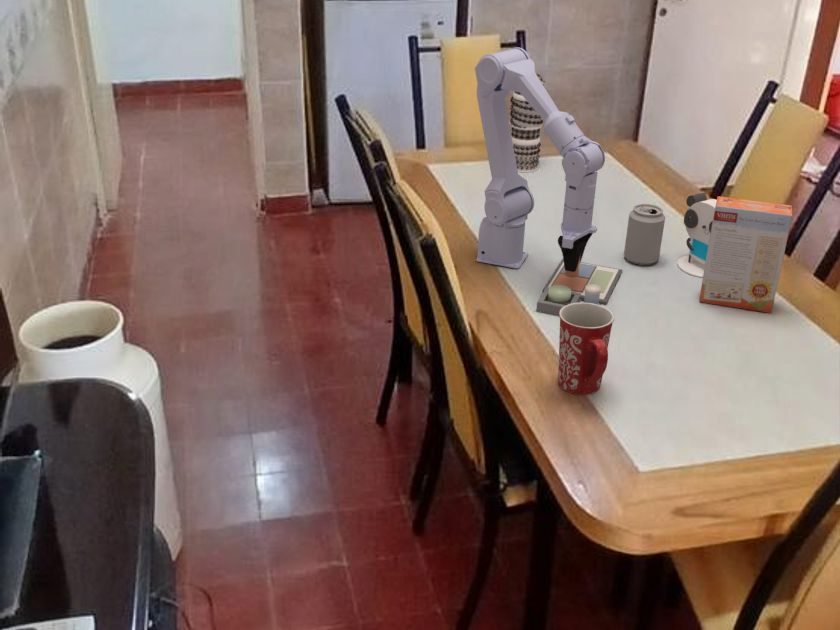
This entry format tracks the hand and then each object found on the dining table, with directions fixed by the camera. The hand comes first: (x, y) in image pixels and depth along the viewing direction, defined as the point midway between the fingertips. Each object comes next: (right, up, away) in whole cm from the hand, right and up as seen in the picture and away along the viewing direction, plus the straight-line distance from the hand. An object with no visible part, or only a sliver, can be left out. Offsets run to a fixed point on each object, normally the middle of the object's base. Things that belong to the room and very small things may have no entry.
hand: (572, 267), depth 192 cm
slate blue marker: (+2, -10, -8) cm, 13 cm away
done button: (-4, -7, -6) cm, 10 cm away
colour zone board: (+3, -3, +4) cm, 6 cm away
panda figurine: (+30, +1, +12) cm, 32 cm away
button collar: (-4, -8, -6) cm, 10 cm away
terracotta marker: (0, -1, +1) cm, 2 cm away
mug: (-3, -22, -31) cm, 39 cm away
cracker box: (+32, -7, -2) cm, 33 cm away
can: (+17, +2, +14) cm, 22 cm away
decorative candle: (-3, +30, +64) cm, 70 cm away
